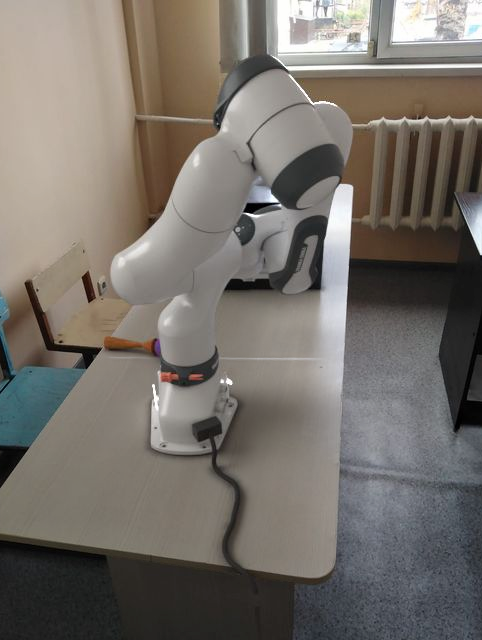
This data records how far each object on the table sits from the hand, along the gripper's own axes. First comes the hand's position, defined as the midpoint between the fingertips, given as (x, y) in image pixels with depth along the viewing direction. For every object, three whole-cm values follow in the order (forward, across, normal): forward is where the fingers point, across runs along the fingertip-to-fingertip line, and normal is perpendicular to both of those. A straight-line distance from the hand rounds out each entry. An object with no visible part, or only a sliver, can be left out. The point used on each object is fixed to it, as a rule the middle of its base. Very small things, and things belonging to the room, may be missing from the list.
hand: (249, 278), depth 136 cm
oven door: (+25, +1, -3) cm, 25 cm away
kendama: (+1, +26, +20) cm, 33 cm away
